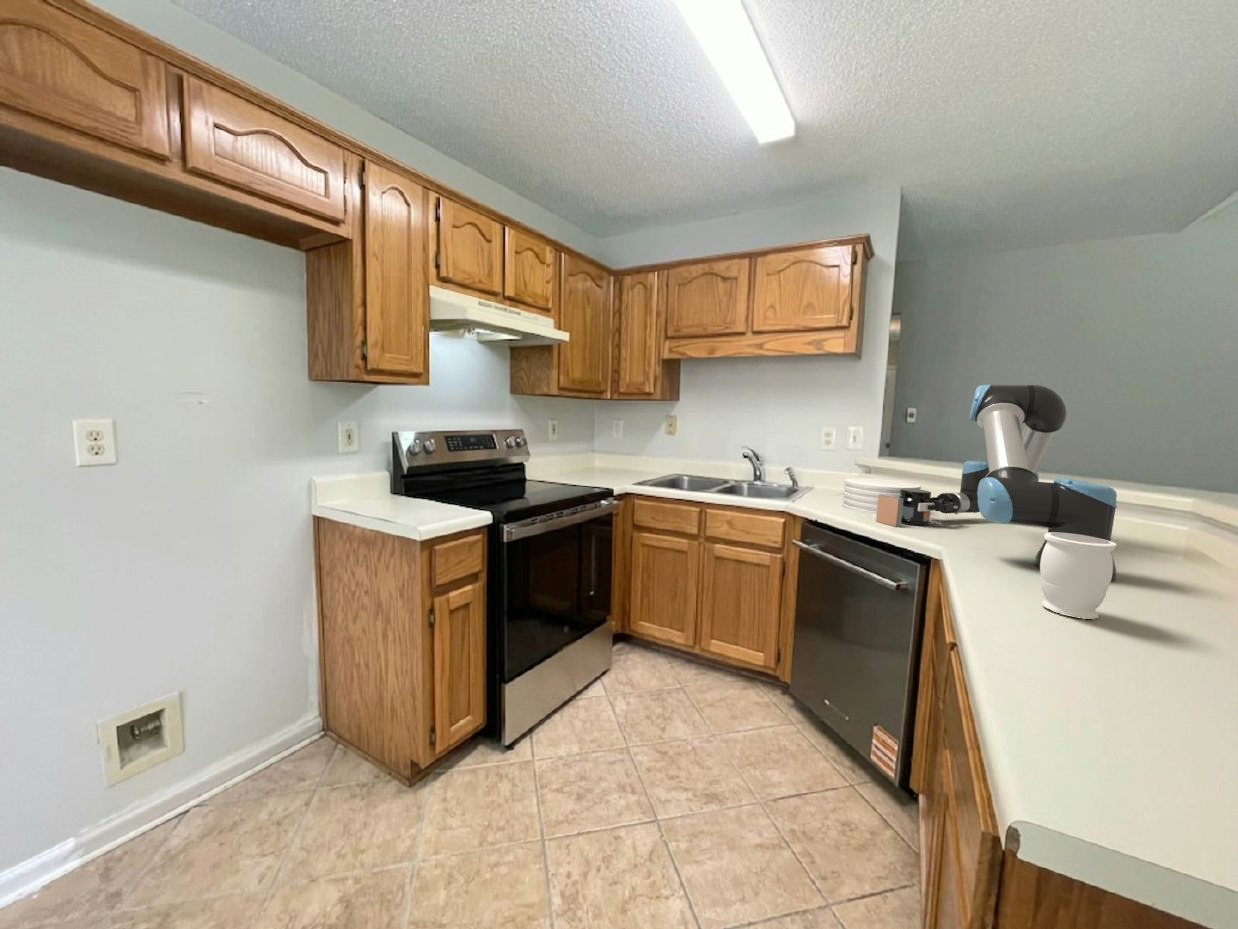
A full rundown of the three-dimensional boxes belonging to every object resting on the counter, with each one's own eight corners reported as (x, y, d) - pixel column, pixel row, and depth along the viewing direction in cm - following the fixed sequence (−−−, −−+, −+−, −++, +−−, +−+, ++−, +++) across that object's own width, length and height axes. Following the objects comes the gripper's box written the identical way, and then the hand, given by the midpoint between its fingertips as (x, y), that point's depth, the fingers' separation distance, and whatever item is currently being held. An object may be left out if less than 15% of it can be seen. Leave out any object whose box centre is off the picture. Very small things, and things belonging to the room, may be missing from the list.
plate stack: (933, 518, 189) (936, 489, 188) (859, 515, 190) (862, 486, 189) (895, 504, 217) (897, 479, 215) (831, 502, 218) (833, 476, 216)
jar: (1113, 628, 90) (1125, 548, 88) (1040, 614, 95) (1050, 539, 94) (1096, 609, 99) (1106, 537, 97) (1030, 597, 104) (1039, 529, 103)
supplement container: (934, 524, 176) (938, 491, 175) (920, 527, 170) (924, 493, 169) (904, 518, 184) (907, 487, 183) (890, 521, 178) (893, 489, 177)
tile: (879, 521, 178) (882, 494, 177) (900, 527, 170) (903, 498, 169) (875, 521, 178) (878, 494, 177) (896, 527, 169) (898, 499, 168)
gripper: (981, 519, 171) (933, 521, 165) (923, 507, 193) (878, 508, 186) (983, 498, 170) (935, 499, 164) (925, 488, 192) (880, 488, 186)
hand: (905, 504), depth 175 cm, fingers closed on supplement container, 10 cm apart
